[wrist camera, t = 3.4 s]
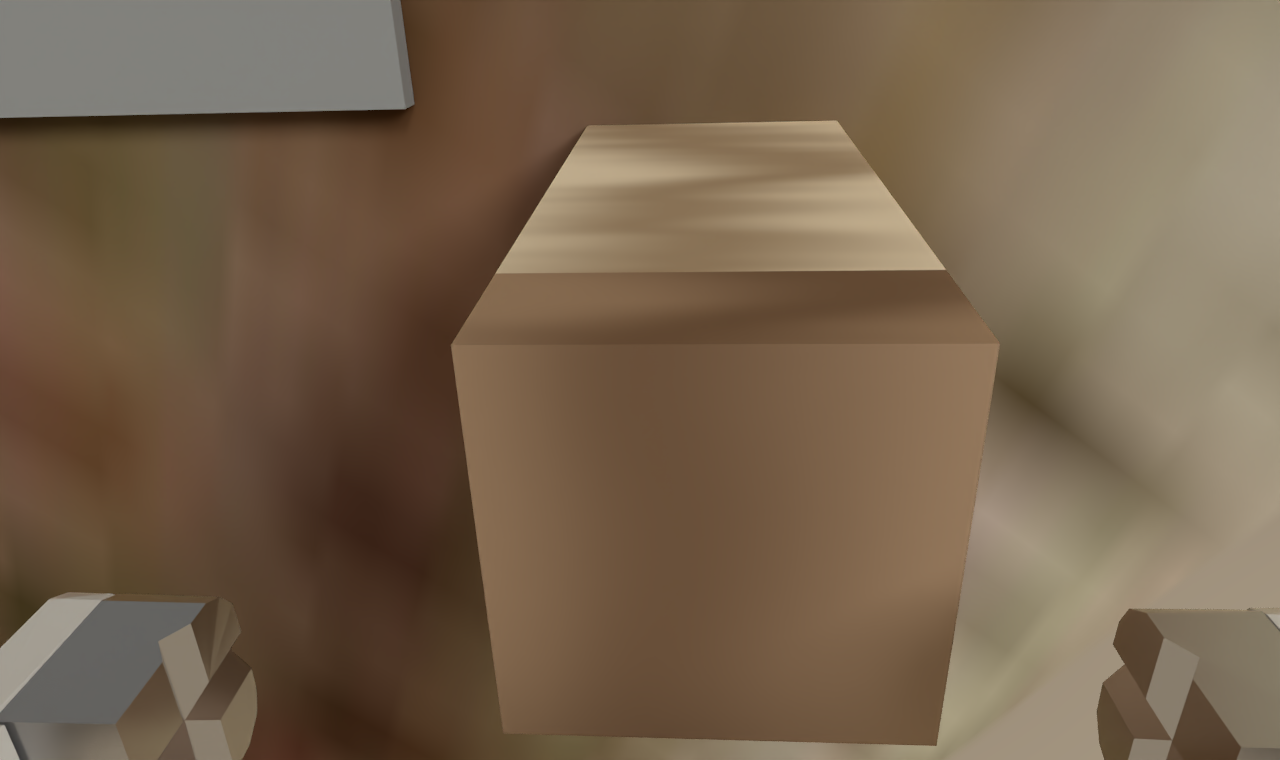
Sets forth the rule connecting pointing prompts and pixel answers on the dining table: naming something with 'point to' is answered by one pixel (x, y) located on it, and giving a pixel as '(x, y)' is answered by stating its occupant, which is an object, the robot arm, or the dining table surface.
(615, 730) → the birch block
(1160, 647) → the robot arm
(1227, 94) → the dining table surface
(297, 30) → the grey mat
